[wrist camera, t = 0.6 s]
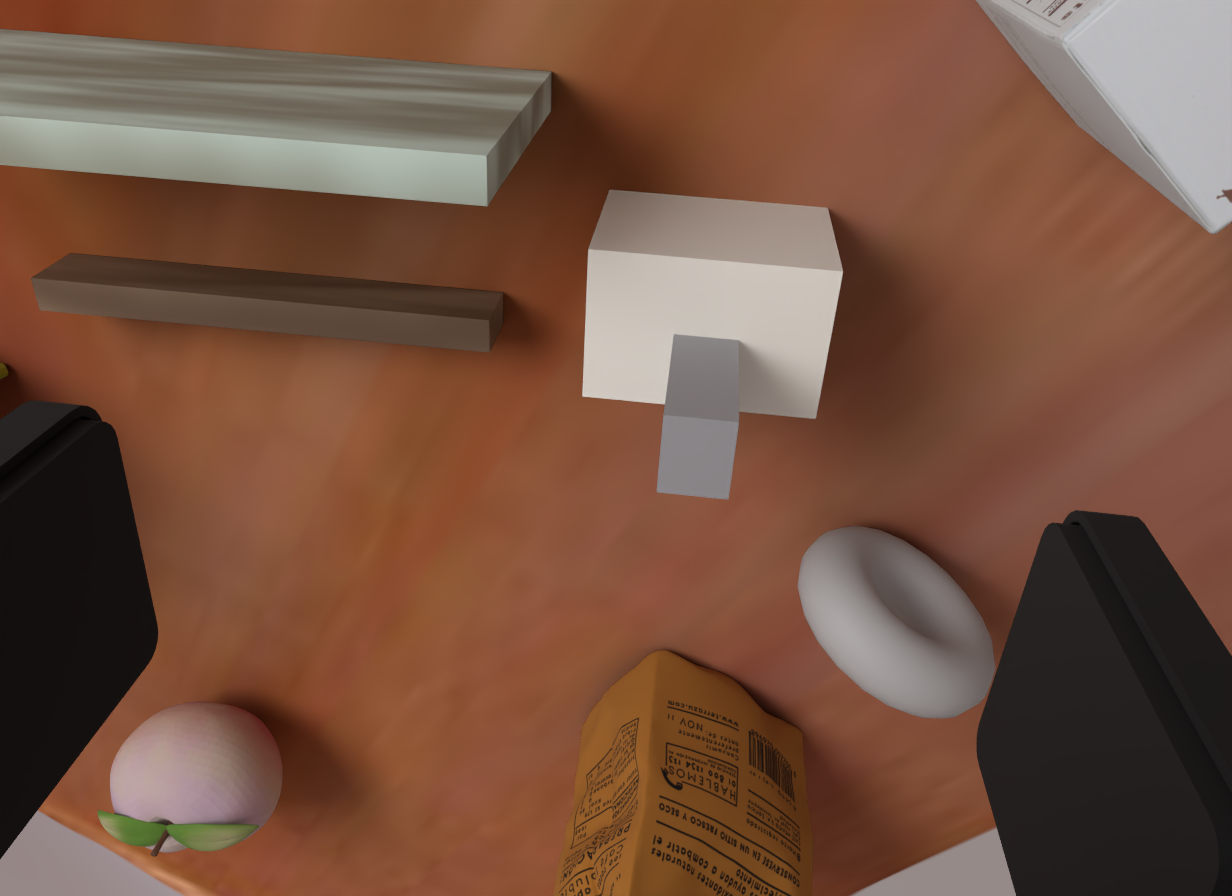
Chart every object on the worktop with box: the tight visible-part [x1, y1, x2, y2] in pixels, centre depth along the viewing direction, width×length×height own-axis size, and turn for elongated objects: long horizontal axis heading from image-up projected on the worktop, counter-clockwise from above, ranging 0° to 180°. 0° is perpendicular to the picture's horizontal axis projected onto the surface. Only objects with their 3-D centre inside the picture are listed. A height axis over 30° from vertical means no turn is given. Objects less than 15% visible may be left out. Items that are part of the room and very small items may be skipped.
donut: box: [798, 526, 995, 718], centre depth 45 cm, size 10×4×10 cm, turn 61°
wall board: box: [0, 29, 552, 353], centre depth 37 cm, size 11×24×12 cm, turn 87°
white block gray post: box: [583, 190, 843, 499], centre depth 37 cm, size 6×9×13 cm, turn 87°
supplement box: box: [976, 0, 1232, 234], centre depth 30 cm, size 7×7×13 cm
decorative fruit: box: [98, 702, 283, 856], centre depth 56 cm, size 9×8×10 cm
